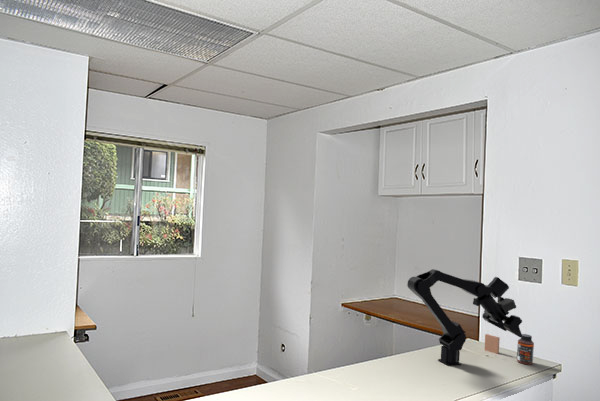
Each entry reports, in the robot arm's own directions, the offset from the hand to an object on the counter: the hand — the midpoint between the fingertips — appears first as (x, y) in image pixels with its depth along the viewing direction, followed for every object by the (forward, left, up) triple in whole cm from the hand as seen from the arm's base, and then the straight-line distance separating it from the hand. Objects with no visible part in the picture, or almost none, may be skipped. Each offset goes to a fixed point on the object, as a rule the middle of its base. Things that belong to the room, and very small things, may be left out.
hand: (513, 333), depth 185 cm
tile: (+3, +14, -12) cm, 19 cm away
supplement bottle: (+6, -1, -12) cm, 14 cm away
